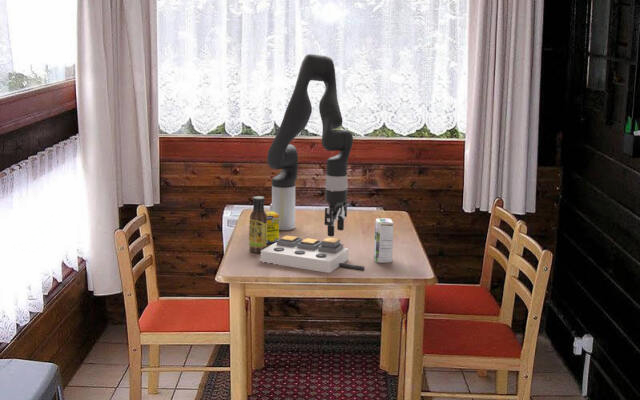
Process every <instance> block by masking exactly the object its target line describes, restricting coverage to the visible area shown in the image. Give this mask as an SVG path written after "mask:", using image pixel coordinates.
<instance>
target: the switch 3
mask: <svg viewBox="0 0 640 400" xmlns="http://www.w3.org/2000/svg"><path fill="white" fill-rule="evenodd" d="M321 241H322V246H323V247H330V248H336V247H337V246H339V245H340V244H341V239H340V238H333V237H326V238H324V239H323V240H321Z"/></svg>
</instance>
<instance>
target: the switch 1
mask: <svg viewBox="0 0 640 400" xmlns="http://www.w3.org/2000/svg"><path fill="white" fill-rule="evenodd" d="M284 236H285V237H284ZM284 236H283V238H282V237H281V238H279V239H280V241H286V242H295V241H297V240H298V238H299V237H298V236H292V235H284Z"/></svg>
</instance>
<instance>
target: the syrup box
mask: <svg viewBox="0 0 640 400" xmlns="http://www.w3.org/2000/svg"><path fill="white" fill-rule="evenodd" d="M394 224H395V223H394V222H393V220H392V219H391V218H386V217H385V218H383V217H380V218H375V226H374V239H373V240H374V245H373V250H374V251H373V259H374V261H375V263H377V264H378V263H382V264H383V263H392V262H393V248H394V247H393V243H394V241H393V240H394Z"/></svg>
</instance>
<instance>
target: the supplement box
mask: <svg viewBox="0 0 640 400" xmlns="http://www.w3.org/2000/svg"><path fill="white" fill-rule="evenodd" d="M265 213H266V215H267V245H269V244H270V243H271V244H274V243H276V242H277V240H279V239H280V230H279V214H277V213H275V212H273V211H271V212H270V211H265ZM271 244H270V245H271Z"/></svg>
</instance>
